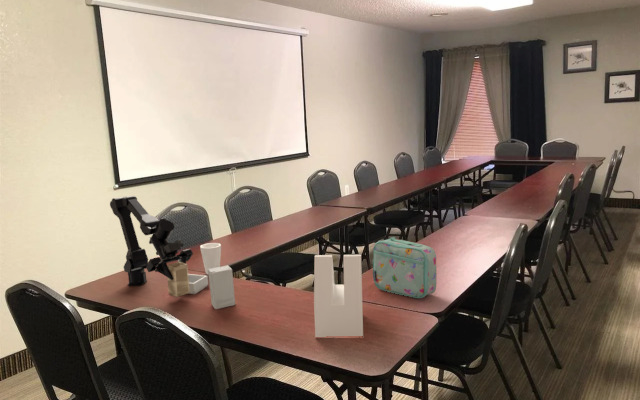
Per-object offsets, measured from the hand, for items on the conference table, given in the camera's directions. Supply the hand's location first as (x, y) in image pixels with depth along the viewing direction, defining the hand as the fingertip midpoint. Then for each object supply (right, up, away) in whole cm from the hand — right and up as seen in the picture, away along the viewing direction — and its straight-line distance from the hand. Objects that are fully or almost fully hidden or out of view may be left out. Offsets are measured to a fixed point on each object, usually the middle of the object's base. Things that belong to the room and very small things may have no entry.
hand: (179, 277), depth 201 cm
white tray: (+1, -7, +15) cm, 16 cm away
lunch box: (+88, -6, +2) cm, 89 cm away
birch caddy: (-1, -7, +2) cm, 7 cm away
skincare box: (+18, -10, -5) cm, 21 cm away
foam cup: (+5, -3, +35) cm, 36 cm away
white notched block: (+62, -13, -28) cm, 70 cm away
